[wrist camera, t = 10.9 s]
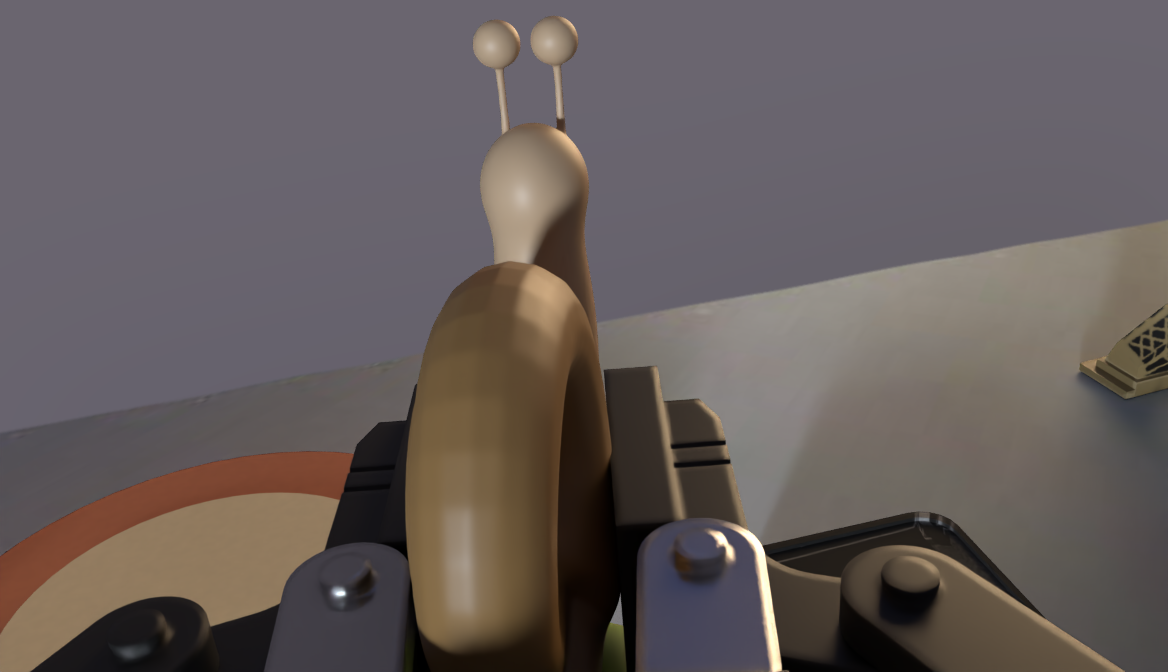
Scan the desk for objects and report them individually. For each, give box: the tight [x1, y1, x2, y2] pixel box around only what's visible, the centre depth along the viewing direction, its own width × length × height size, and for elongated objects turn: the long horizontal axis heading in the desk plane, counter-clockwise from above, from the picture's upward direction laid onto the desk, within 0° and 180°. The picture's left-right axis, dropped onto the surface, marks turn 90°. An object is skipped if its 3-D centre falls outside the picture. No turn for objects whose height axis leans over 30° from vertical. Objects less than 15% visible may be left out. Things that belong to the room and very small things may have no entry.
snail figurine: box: [405, 16, 627, 672], centre depth 12 cm, size 5×6×12 cm
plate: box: [0, 451, 354, 672], centre depth 35 cm, size 19×19×2 cm
